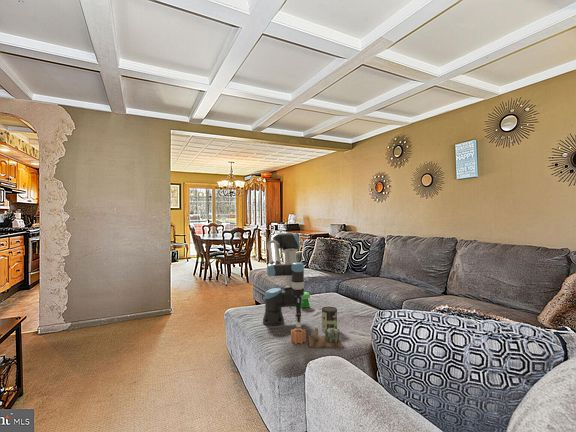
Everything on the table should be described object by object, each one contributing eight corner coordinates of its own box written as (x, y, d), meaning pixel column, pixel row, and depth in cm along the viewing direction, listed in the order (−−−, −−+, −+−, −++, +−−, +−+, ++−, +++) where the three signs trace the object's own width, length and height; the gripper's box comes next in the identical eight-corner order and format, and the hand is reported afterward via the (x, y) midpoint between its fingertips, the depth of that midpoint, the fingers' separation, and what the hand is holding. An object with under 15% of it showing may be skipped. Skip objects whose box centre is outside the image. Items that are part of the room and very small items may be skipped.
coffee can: (339, 328, 203) (339, 307, 203) (333, 334, 194) (333, 312, 194) (325, 325, 209) (325, 305, 208) (319, 330, 200) (318, 309, 200)
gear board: (310, 347, 175) (310, 333, 175) (308, 337, 189) (308, 324, 189) (342, 347, 176) (342, 333, 175) (338, 337, 190) (338, 324, 189)
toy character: (289, 306, 255) (288, 290, 254) (311, 304, 253) (309, 289, 253) (288, 309, 245) (287, 294, 245) (311, 308, 243) (309, 292, 243)
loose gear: (291, 343, 181) (290, 333, 181) (290, 337, 190) (290, 327, 190) (306, 343, 181) (306, 333, 181) (305, 337, 190) (305, 327, 190)
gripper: (305, 293, 172) (305, 330, 172) (302, 283, 197) (303, 315, 197) (292, 293, 172) (292, 330, 172) (291, 283, 197) (291, 316, 197)
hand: (298, 322), depth 185 cm, fingers open, 13 cm apart
